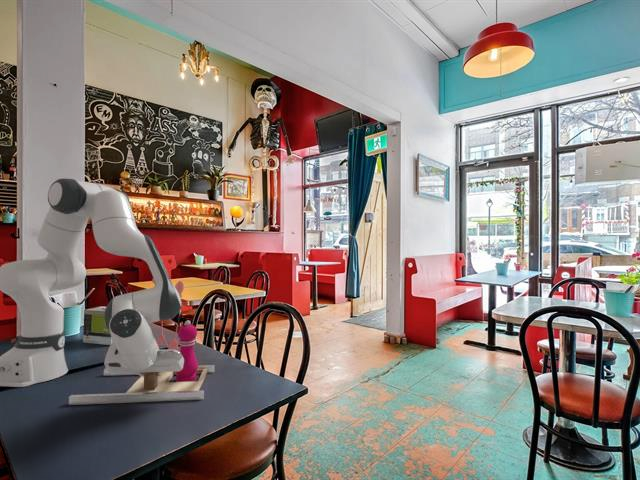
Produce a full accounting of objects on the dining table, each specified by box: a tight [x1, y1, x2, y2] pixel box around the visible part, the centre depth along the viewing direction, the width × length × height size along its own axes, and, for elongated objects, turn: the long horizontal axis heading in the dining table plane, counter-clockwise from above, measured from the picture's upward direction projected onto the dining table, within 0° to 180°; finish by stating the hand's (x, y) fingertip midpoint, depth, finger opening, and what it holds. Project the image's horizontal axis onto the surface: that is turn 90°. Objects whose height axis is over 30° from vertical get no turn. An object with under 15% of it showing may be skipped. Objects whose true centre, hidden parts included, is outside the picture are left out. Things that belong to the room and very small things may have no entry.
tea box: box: [82, 306, 113, 346], centre depth 153 cm, size 15×10×15 cm, turn 77°
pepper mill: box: [175, 320, 199, 382], centre depth 114 cm, size 7×7×20 cm
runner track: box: [68, 364, 215, 406], centre depth 109 cm, size 36×22×2 cm, turn 99°
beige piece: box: [125, 368, 207, 393], centre depth 109 cm, size 20×19×10 cm
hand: (151, 373), depth 104 cm, fingers closed on beige piece, 3 cm apart
